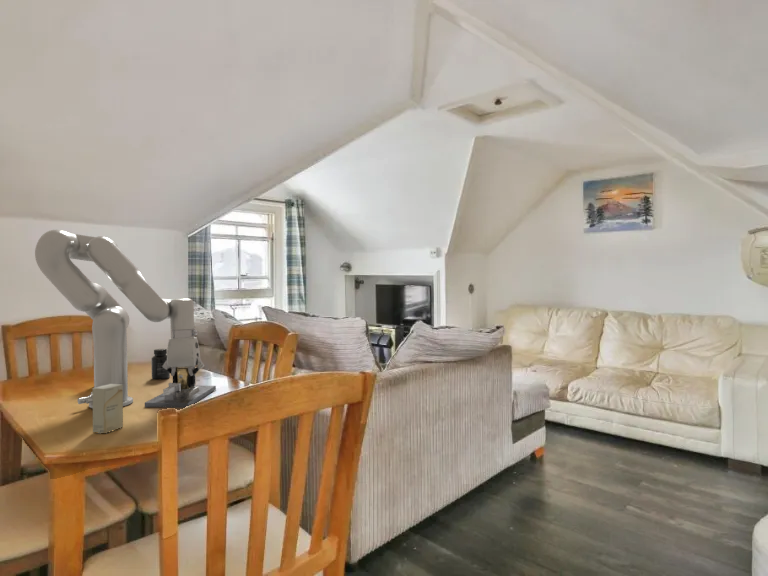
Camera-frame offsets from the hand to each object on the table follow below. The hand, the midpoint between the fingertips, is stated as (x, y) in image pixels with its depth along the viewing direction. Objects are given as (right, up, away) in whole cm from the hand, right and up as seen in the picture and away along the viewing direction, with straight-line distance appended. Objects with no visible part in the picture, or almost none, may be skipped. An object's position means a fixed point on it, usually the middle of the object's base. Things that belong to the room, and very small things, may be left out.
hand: (184, 386), depth 164 cm
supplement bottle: (-23, -4, +31) cm, 39 cm away
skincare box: (-6, -5, -34) cm, 35 cm away
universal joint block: (0, -1, 0) cm, 1 cm away
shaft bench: (0, -4, 0) cm, 4 cm away
